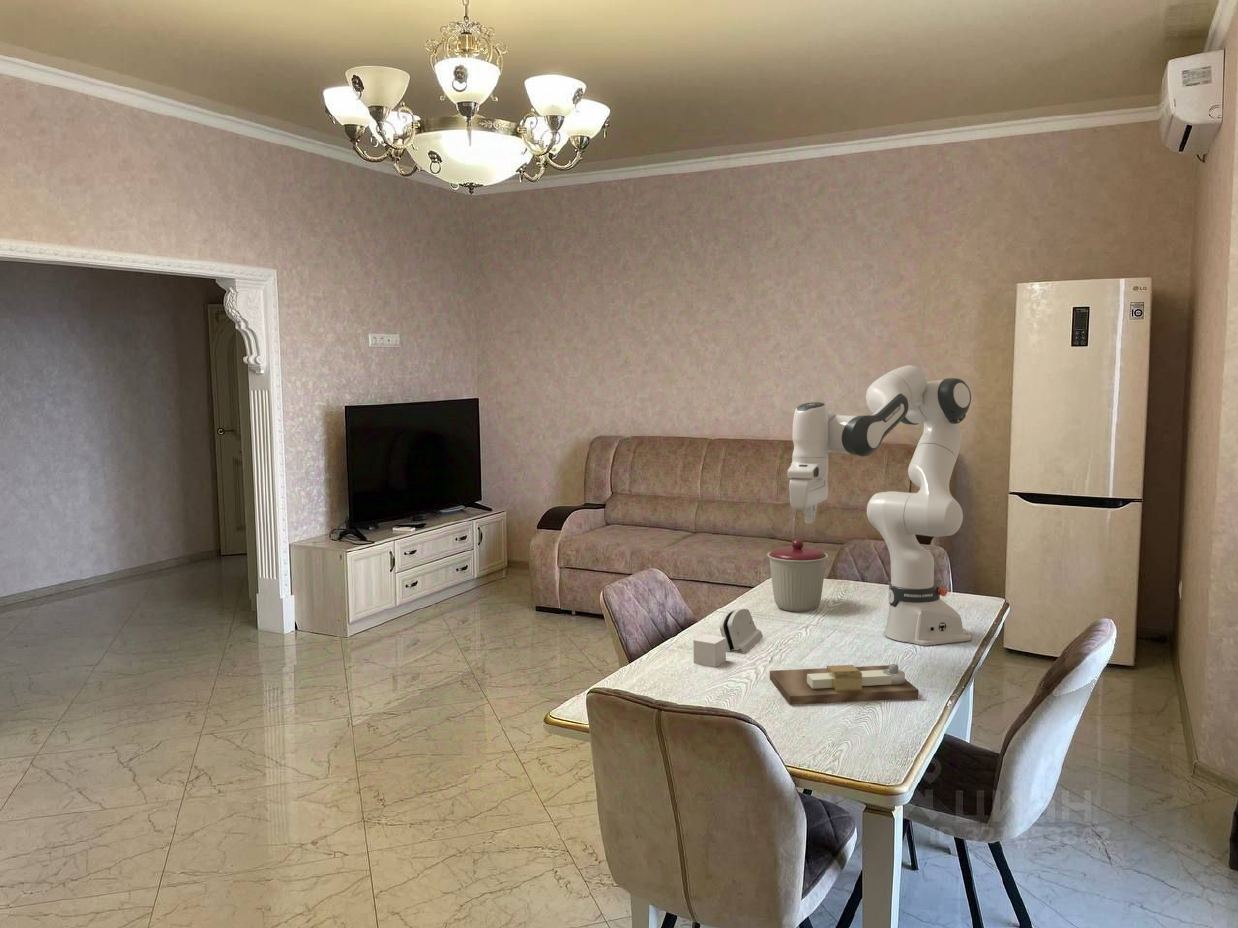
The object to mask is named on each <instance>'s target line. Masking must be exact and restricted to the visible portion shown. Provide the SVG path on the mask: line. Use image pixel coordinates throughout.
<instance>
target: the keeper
mask: <svg viewBox="0 0 1238 928" xmlns="http://www.w3.org/2000/svg"><path fill="white" fill-rule="evenodd" d="M856 667H857V666H855V665H853V664H842V665H841V664H839V665H826V668H827V671H828V672H829V673H830V674H831V675H832V689H833V690H834V692H853V691H862V673H861V672H860V671H859V670H858V669H857V668H856Z"/></svg>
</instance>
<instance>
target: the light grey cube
mask: <svg viewBox="0 0 1238 928" xmlns="http://www.w3.org/2000/svg"><path fill="white" fill-rule="evenodd" d="M726 661H727V652H726V638H725V637H722V636H719V635H718V636H717V635H711V634H706V633H705V634H702V635H701V636H699V637H697V638H694V639H693V664H696V665H702V666H707V667H712V668H716V667H718V666H719V665H721V664H723V663H725V662H726Z"/></svg>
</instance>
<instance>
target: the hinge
mask: <svg viewBox="0 0 1238 928" xmlns="http://www.w3.org/2000/svg"><path fill="white" fill-rule="evenodd" d="M719 630H720V634H721V637H725V638H726V653H730V652H731V651H733V650H734V651H738V650H741V652H742V654H743V655H746V653H748V651H750V650H751V649H752V648H753V647H755V645H756V644H757V643H758V642H759V641H761V640H762V639H763V638H764V636H763V632H762V630H760V629H758V628H757V627H756V625H755V622H754V620H753V616H752V615H751V612H750V610H749V609H747V608H740V609H735V610H732V611H730V612H728V613H727V614H726V613H725V615H724V616H723V617H722V619H721V620H720V624H719Z"/></svg>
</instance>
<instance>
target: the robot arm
mask: <svg viewBox="0 0 1238 928" xmlns="http://www.w3.org/2000/svg"><path fill="white" fill-rule="evenodd" d="M927 380H928V379H927V376H926V375H925V373H924V371H922V369H921V368H919V367H917V366H914V365H911V364H908V365H904V366H899V367H898V368H895V369H893V370H890V371H888V372H886V373H885V374H883V375H882V376H880V377H878V378H877V379H876V380H875V381H873V382H872V383H871V384H870V386H869V387H868V388H867V390H866V392H865V393H866V394H865V402H866V405H867V408H868V409H869V411H870V413H872V414H869V415H847V414H846V415H845V414H843V415H842V414H836V413H835V412H833V411H831V410H830V409H828V408H827V405H826V404H825V402H821V401H820V402H819V401H812V402H806V403H802V404H800V405H798V406H797V407H796V408H795V410H794V414H793V420H792V437H791V438H792V443H793V451H792V456H791V457H792V458H791V459H792V460H791V461H792V462H791V464H790V467H789V468H788V469H787V478H788V479H789V482H788V483H789V485H788V486H789V502H790V503H789V504H790V507H791V509H792V510H798V511H799V510H800V511H801V510H802V512H803V515H804V523H805V524H813V523H815V521H816V514H817V513H816V512H817V508H818V504H820V503H822V502H824V501H827V500H828V496H829V485H828V484H829V483H828V481H829V480H828V475H829V453H835V454H848V455H854V456H857V457H858V456H859V457H869V456H871V455H872V454H874V453H875V452H876V451H877V449H878V448H879V447H880V445H881V444H882V442H883V440H884V439H885V437H887V436H888V434H890V433H891V432H892V431H893V429H894V428H896V427H897V425H899V424H900V423H902V424H904V425H910V426H912V425H913V426H916V425H919V424H923V431H922V432H923V433H922V435H921V436H920V439H919V441H917V442H918V443H917V446H916V447H915V450H914V452H913V455H912V457H911V459H910V462H909V466H908V468H907V474H908V478H909V480H910V481H911V482H912V483H913V484H914V485H915V486H916V487H918V488H919V490H918V491H917V492H907V491H906V492H905V491H896V490H895V491H894V490H892V491H891V490H890V491H883V492H882V491H881V492H876V493H875V494H873V495H872V496H871V498H870V499H869V500H868V502H867V505H866V516H867V519H868V521H869V522H870V524H871V526H873V528H874V529H876V531H878V532H879V534H880V535H881V537H882V538H883V540H884V542H885V544H886V547H887V549H888V553H889V557H890V558H889V559H890V582H889V584H888V604H889V609H888V615H887V621H886V625H885V629H884V630H883V634H884V636H885V637H887V638H889V639H891V640H894V641H898V642H903V643H911V644H915V645H918V646H933V645H934V646H935V645H936V646H937V645H942V644H950V643H951V644H952V643H960V642H969V641H972V639H973V637H972V633H970V631H968V630H967V629H966V628H964V627H963V626H964V625H963V621H962V617H961V615H960V614H959V612H958V611H956V610H955V609H954V608H953V607H952V606H950V605H949V604H948V603H946V602H945V600H942V598H941V597H946V596H947V595H948V593H949V592H948V590H947V589H946V588H944V587H939V586H937V585H935V559H934V556H933V555H932V553H931V552H930V551H929V550H928V549H926V548H925V547H924V546H922V545H921V543H920V542H919V541H918V539H917V536H925V537H926V536H927V537H933V538H936V537H947V536H948V537H949V536H953V535H955V534H956V533H957V532H958V531H959V530H960V528H961V526H962V524H963V521H964V520H963V518H964V514H963V509H962V506H961V505H960V503H959V502H958V500H956V499H955V498H954V497H953V496H952V494H951V491H950V481H951V478H952V473H953V471H954V468H955V465H956V462H957V459H958V456H959V452H960V449H961V444H962V436H963V435H962V434H963V433H962V429H961V427H960V426H959V424H960V423H961V422H963V420H965V419H966V415H967V412H968V411H969V408H970V406H971V402H972V393H971V390H970V387H969V386H968V385H967V383H966V382H965V381H964V380H962V379H961V378H956V377H955V378H953V377H948V378H943V379H939V380H938V379H937V380H933V381H927ZM916 535H917V536H916Z"/></svg>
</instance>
